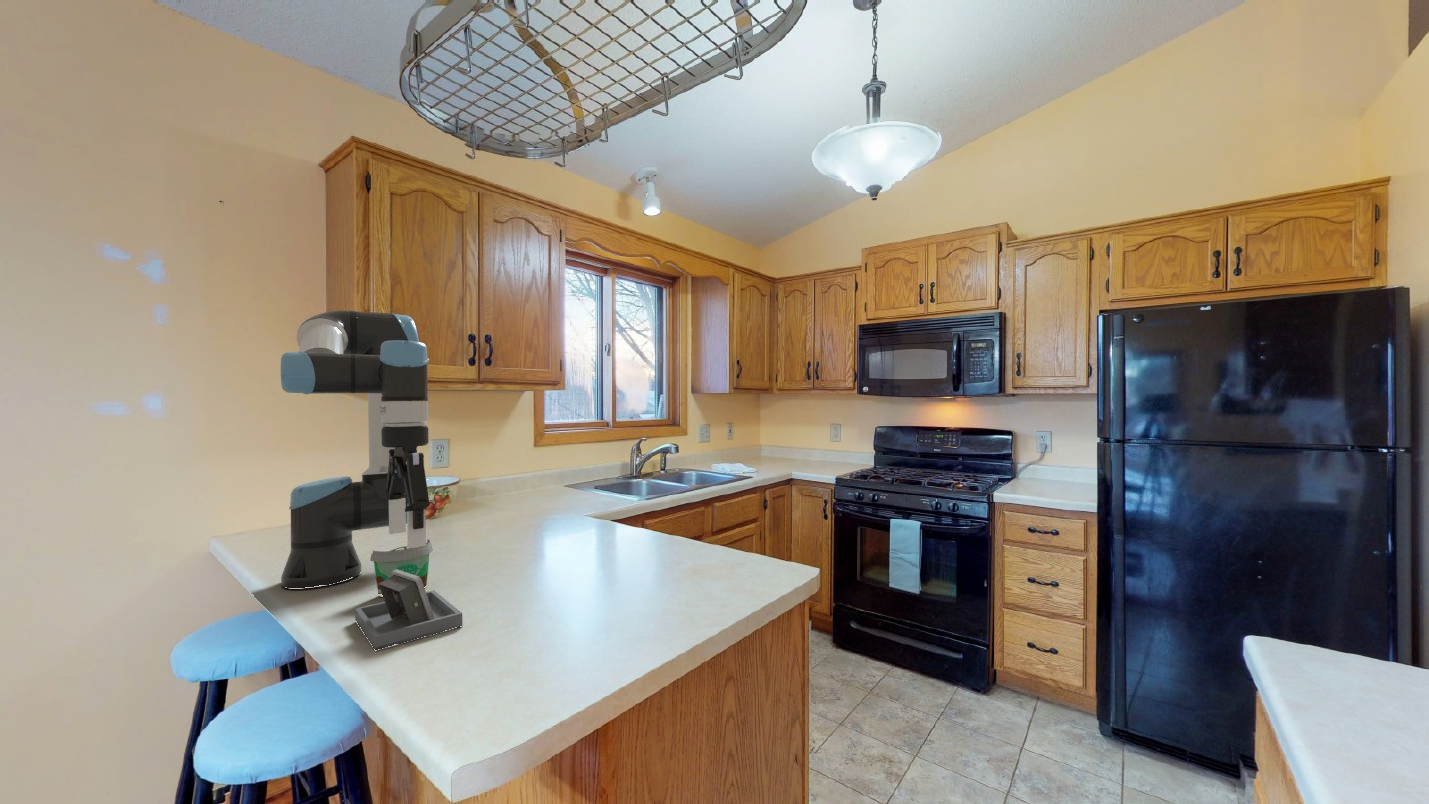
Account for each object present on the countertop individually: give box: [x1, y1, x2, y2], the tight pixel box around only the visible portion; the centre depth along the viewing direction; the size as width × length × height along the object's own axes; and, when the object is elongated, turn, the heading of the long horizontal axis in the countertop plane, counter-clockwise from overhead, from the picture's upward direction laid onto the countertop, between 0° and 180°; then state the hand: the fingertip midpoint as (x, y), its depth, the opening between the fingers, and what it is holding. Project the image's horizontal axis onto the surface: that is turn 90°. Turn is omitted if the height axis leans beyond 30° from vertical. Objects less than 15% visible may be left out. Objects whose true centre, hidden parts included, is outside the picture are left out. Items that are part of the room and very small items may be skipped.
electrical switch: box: [379, 569, 435, 626], centre depth 97 cm, size 9×5×9 cm, turn 56°
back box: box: [354, 589, 463, 650], centre depth 98 cm, size 17×14×2 cm
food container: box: [369, 538, 434, 595], centre depth 115 cm, size 12×6×10 cm, turn 143°
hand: (406, 539), depth 98 cm, fingers open, 13 cm apart
